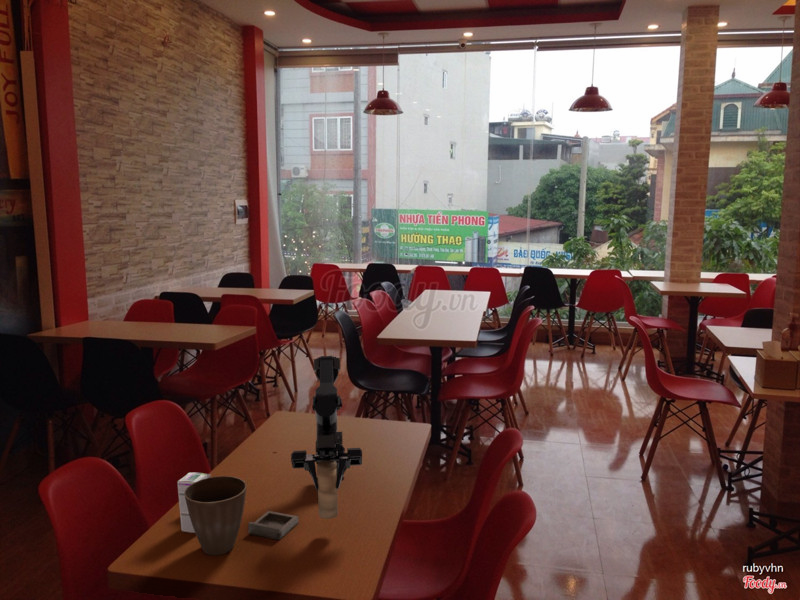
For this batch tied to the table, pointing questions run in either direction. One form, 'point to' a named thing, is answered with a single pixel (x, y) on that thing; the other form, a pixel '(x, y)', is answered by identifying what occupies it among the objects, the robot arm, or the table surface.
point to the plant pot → (216, 511)
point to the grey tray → (273, 525)
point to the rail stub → (327, 489)
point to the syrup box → (182, 485)
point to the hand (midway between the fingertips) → (327, 489)
